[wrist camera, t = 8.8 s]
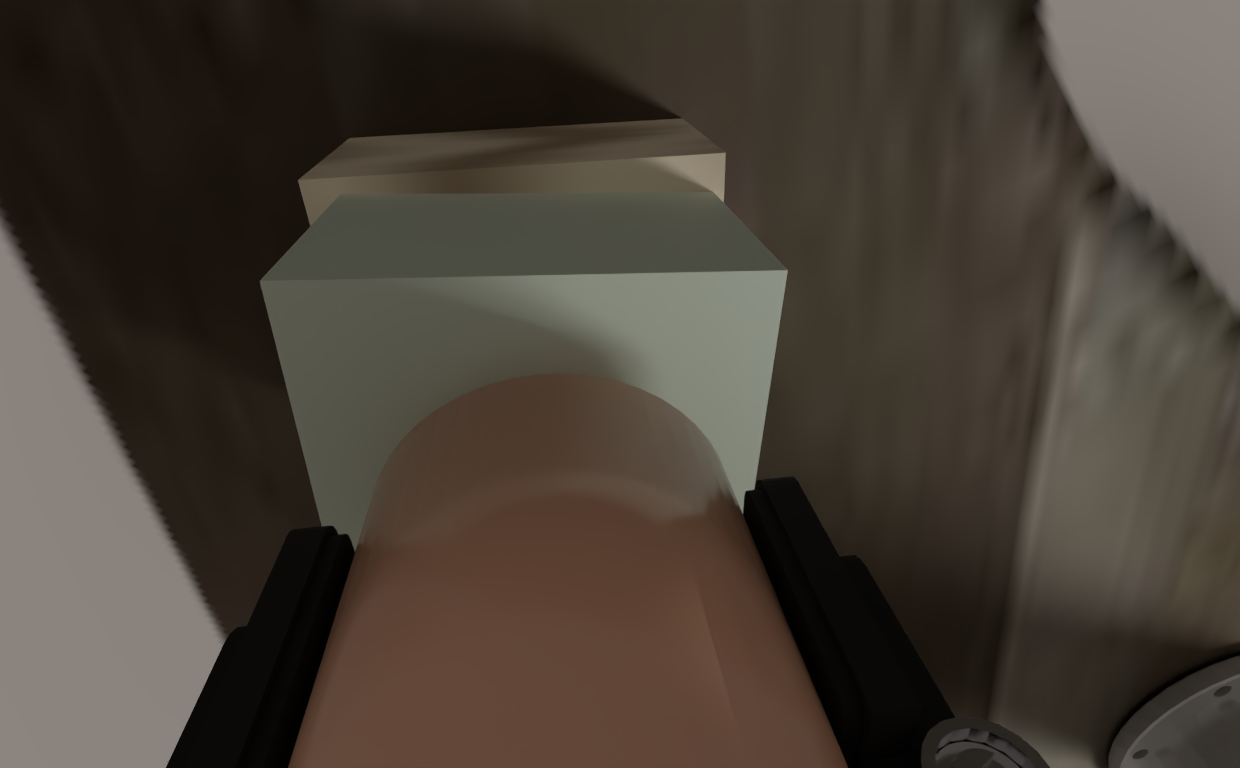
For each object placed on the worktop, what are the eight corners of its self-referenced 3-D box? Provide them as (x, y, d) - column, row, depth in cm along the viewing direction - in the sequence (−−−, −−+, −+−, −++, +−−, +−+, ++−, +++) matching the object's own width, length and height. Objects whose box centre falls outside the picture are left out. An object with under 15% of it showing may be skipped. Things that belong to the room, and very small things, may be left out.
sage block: (713, 191, 15) (787, 269, 11) (687, 478, 19) (734, 619, 15) (340, 194, 14) (259, 280, 10) (393, 494, 18) (353, 650, 14)
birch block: (680, 117, 19) (725, 152, 15) (678, 392, 24) (712, 481, 19) (351, 136, 18) (298, 179, 14) (414, 417, 23) (388, 515, 18)
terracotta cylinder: (738, 356, 10) (1042, 876, 4) (723, 629, 13) (889, 1163, 7) (328, 393, 10) (1, 1045, 4) (409, 668, 13) (302, 1277, 7)
